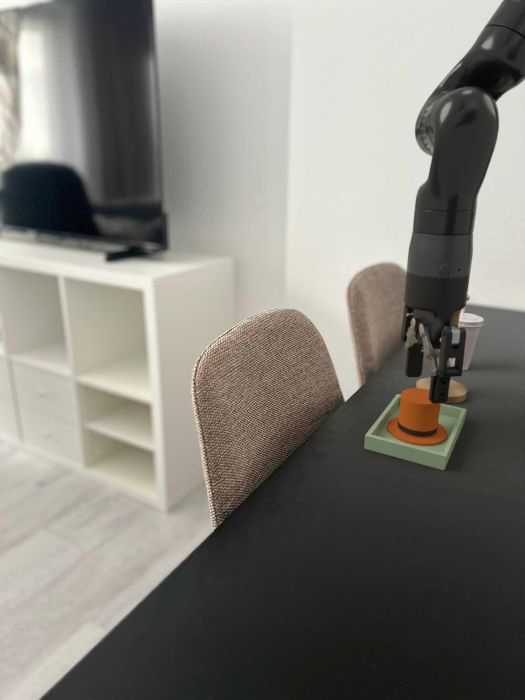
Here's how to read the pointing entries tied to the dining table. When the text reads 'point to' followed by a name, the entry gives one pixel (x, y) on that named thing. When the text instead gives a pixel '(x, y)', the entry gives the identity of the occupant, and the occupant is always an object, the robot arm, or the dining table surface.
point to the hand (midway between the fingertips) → (424, 388)
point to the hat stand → (455, 388)
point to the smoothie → (469, 334)
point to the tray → (424, 455)
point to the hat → (417, 419)
